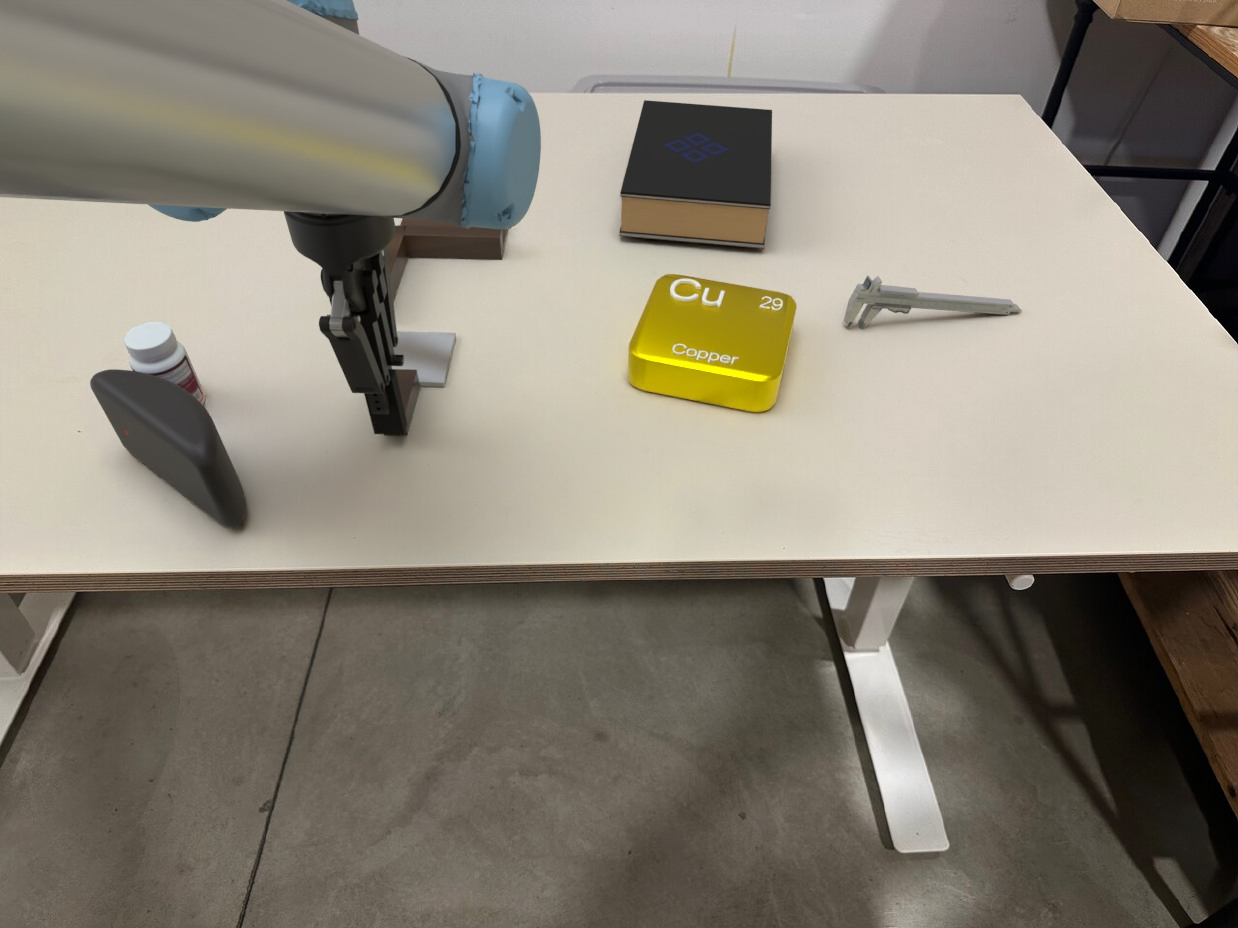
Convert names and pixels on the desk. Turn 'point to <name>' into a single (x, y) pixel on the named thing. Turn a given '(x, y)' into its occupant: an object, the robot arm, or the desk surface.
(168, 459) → the leaning round-cornered charcoal block
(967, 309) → the caliper
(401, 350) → the spatula
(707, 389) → the element tile
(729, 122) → the book
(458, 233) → the corner stop
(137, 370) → the pill bottle
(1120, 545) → the desk surface
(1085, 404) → the desk surface
